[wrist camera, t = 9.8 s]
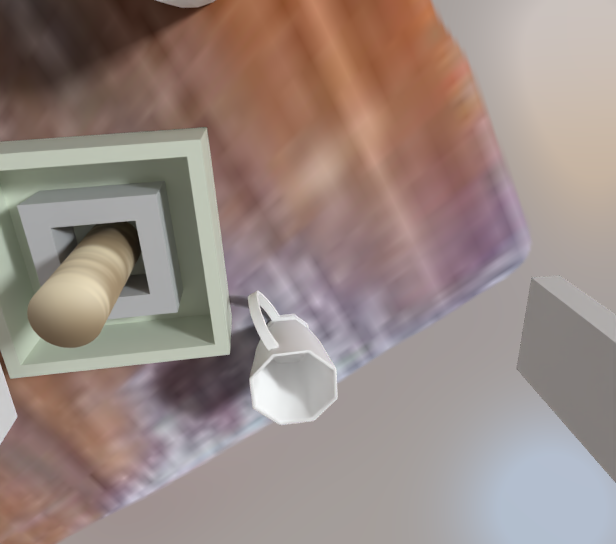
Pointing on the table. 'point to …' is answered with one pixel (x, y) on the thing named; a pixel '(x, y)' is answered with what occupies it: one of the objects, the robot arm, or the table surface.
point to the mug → (187, 3)
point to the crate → (107, 209)
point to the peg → (85, 286)
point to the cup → (289, 367)
